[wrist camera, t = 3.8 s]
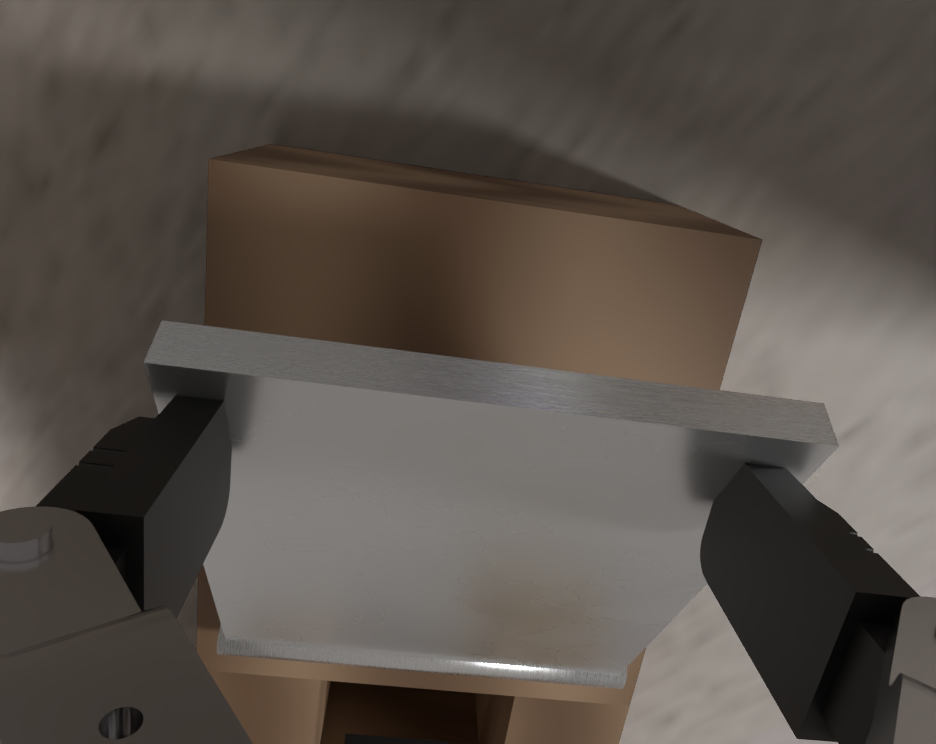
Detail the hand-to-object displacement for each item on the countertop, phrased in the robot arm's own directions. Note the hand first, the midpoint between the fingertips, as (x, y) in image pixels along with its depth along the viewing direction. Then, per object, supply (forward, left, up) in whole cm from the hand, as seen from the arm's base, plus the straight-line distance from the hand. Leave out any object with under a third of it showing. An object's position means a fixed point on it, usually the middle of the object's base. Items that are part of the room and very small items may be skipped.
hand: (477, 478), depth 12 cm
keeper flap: (0, +3, -3) cm, 4 cm away
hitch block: (0, +7, -11) cm, 13 cm away
